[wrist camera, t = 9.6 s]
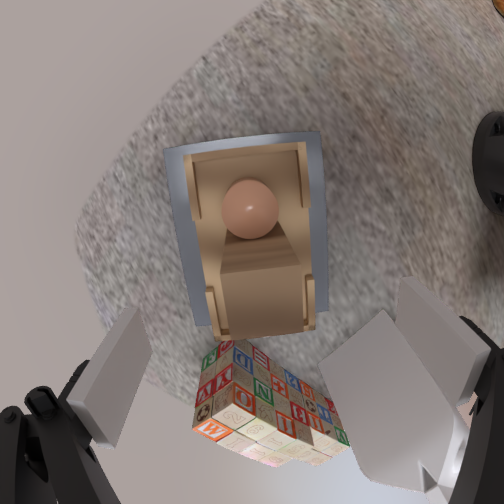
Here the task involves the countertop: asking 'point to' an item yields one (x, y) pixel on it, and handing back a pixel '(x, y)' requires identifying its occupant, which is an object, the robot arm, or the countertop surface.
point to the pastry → (499, 6)
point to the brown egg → (249, 208)
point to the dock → (188, 228)
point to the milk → (395, 412)
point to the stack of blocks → (264, 409)
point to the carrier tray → (211, 224)
